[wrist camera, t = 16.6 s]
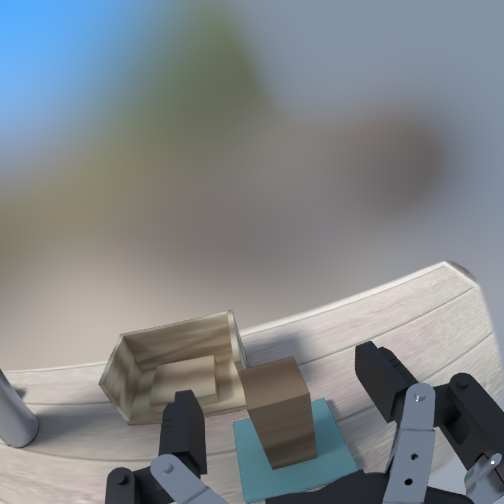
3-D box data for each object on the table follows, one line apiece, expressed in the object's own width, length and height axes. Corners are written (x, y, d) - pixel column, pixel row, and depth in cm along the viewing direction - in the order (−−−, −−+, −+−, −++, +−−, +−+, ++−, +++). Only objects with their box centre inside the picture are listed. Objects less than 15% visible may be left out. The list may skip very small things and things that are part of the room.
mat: (357, 472, 20) (358, 469, 20) (246, 503, 20) (244, 501, 19) (324, 402, 32) (323, 397, 31) (235, 426, 31) (233, 422, 31)
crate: (256, 406, 34) (240, 360, 31) (128, 425, 32) (98, 383, 30) (245, 353, 46) (232, 309, 43) (141, 373, 45) (120, 333, 42)
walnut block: (317, 457, 23) (309, 392, 19) (272, 470, 23) (247, 409, 19) (305, 426, 28) (293, 355, 24) (264, 437, 28) (239, 370, 24)
